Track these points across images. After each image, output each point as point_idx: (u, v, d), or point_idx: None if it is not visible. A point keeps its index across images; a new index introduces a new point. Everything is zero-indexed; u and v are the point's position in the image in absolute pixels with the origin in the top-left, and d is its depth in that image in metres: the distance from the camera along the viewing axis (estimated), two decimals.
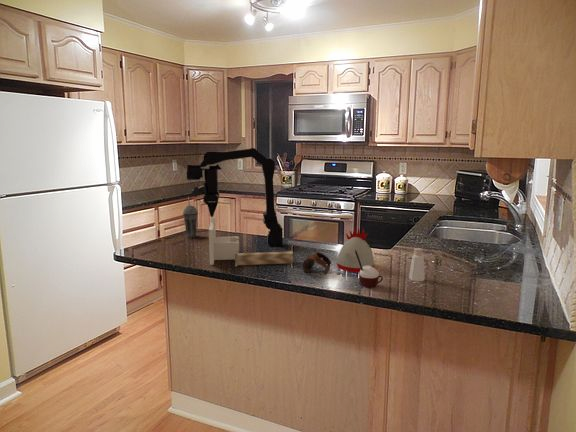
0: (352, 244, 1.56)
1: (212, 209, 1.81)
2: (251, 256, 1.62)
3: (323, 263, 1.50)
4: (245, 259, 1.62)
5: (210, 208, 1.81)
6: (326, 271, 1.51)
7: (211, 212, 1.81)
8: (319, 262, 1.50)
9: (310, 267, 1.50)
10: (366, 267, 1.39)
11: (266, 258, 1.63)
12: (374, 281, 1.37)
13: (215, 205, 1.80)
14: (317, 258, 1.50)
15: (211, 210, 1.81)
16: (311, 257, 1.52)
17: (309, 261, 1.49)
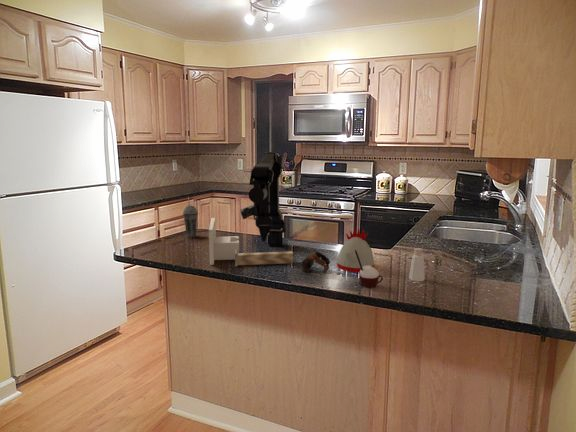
0: (353, 244, 1.56)
1: (264, 233, 1.57)
2: (251, 256, 1.62)
3: (322, 262, 1.51)
4: (245, 259, 1.62)
5: (262, 232, 1.57)
6: (325, 270, 1.52)
7: (263, 236, 1.58)
8: (318, 262, 1.51)
9: (309, 267, 1.51)
10: (366, 267, 1.39)
11: (266, 258, 1.63)
12: (374, 281, 1.37)
13: (268, 228, 1.56)
14: (316, 258, 1.51)
15: (263, 234, 1.57)
16: (310, 257, 1.53)
17: (308, 261, 1.50)
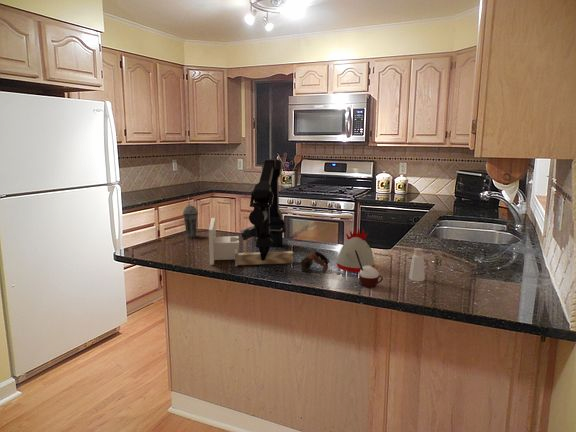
0: (353, 244, 1.56)
1: (264, 252, 1.61)
2: (251, 256, 1.62)
3: (321, 262, 1.51)
4: (245, 259, 1.62)
5: (261, 252, 1.61)
6: (324, 270, 1.52)
7: (263, 256, 1.62)
8: (317, 261, 1.51)
9: (308, 266, 1.52)
10: (366, 267, 1.39)
11: (266, 258, 1.63)
12: (374, 281, 1.37)
13: (267, 248, 1.61)
14: (315, 257, 1.52)
15: (263, 253, 1.62)
16: (309, 256, 1.53)
17: (307, 260, 1.50)
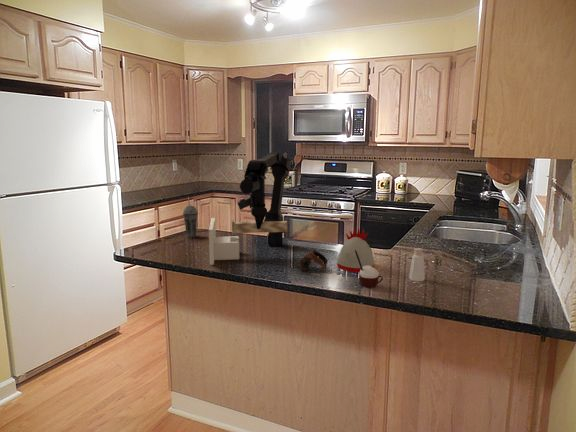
0: (352, 244, 1.56)
1: (259, 221, 1.71)
2: (247, 224, 1.72)
3: (320, 261, 1.52)
4: (241, 228, 1.72)
5: (257, 220, 1.71)
6: (323, 269, 1.53)
7: (258, 224, 1.72)
8: (316, 260, 1.52)
9: (307, 265, 1.52)
10: (366, 267, 1.39)
11: (261, 226, 1.73)
12: (374, 281, 1.37)
13: (263, 217, 1.70)
14: (314, 257, 1.52)
15: (258, 222, 1.71)
16: (308, 256, 1.54)
17: (306, 260, 1.51)
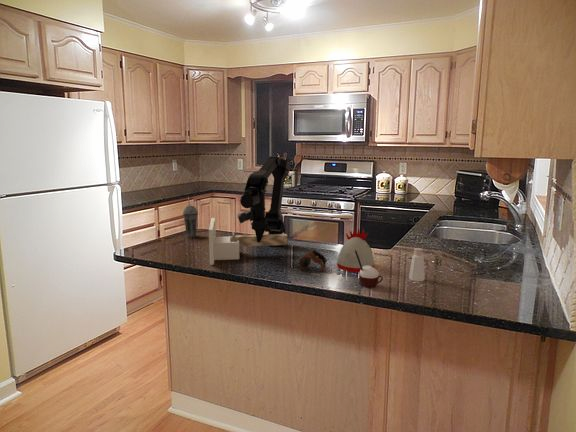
0: (352, 244, 1.56)
1: (259, 235, 1.72)
2: (247, 238, 1.73)
3: (319, 261, 1.53)
4: (242, 241, 1.73)
5: (257, 234, 1.72)
6: (322, 269, 1.54)
7: (258, 238, 1.73)
8: (315, 260, 1.52)
9: (306, 265, 1.53)
10: (366, 267, 1.39)
11: (261, 240, 1.74)
12: (374, 281, 1.37)
13: (263, 230, 1.72)
14: (313, 256, 1.53)
15: (258, 235, 1.72)
16: (307, 255, 1.54)
17: (305, 259, 1.51)
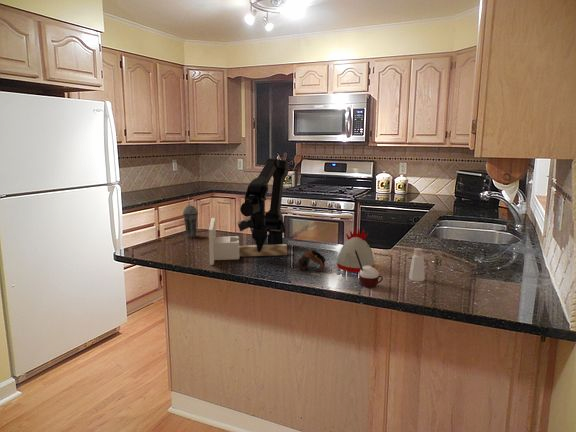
0: (353, 244, 1.56)
1: (260, 244, 1.70)
2: (247, 248, 1.74)
3: (318, 261, 1.53)
4: (242, 251, 1.74)
5: (258, 243, 1.70)
6: (321, 268, 1.54)
7: (259, 247, 1.71)
8: (314, 260, 1.53)
9: (305, 265, 1.53)
10: (366, 267, 1.39)
11: (261, 250, 1.75)
12: (374, 281, 1.37)
13: (263, 240, 1.70)
14: (312, 256, 1.53)
15: (259, 245, 1.70)
16: (306, 255, 1.55)
17: (304, 259, 1.52)
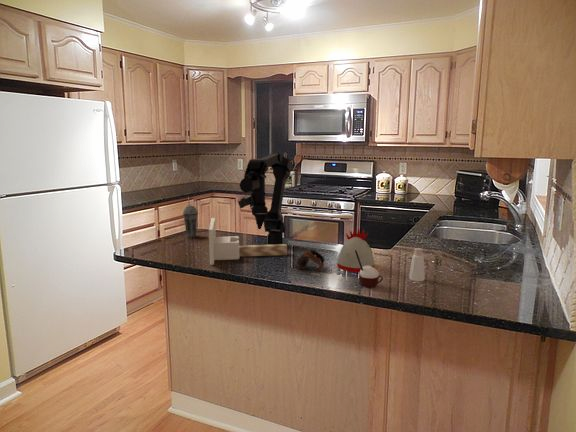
0: (353, 244, 1.56)
1: (260, 221, 1.70)
2: (247, 248, 1.74)
3: (317, 260, 1.54)
4: (242, 251, 1.74)
5: (258, 220, 1.69)
6: (320, 268, 1.55)
7: (259, 224, 1.70)
8: (313, 259, 1.53)
9: (305, 264, 1.54)
10: (366, 267, 1.39)
11: (262, 250, 1.75)
12: (374, 281, 1.37)
13: (263, 217, 1.69)
14: (311, 255, 1.54)
15: (259, 222, 1.70)
16: (305, 254, 1.55)
17: (304, 258, 1.52)
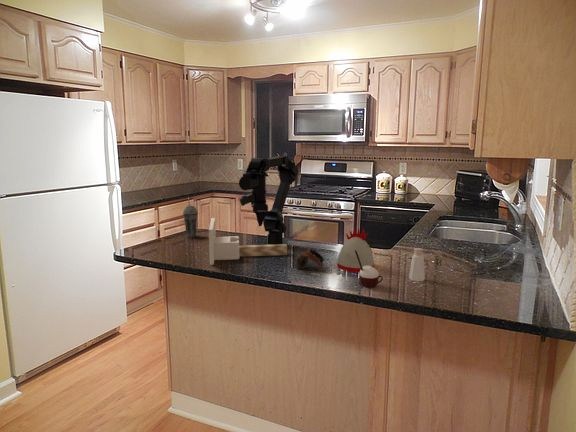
0: (353, 244, 1.56)
1: (261, 218, 1.74)
2: (248, 248, 1.74)
3: (316, 260, 1.54)
4: (242, 251, 1.74)
5: (259, 218, 1.74)
6: (319, 267, 1.55)
7: (260, 221, 1.75)
8: (312, 259, 1.54)
9: (304, 264, 1.54)
10: (366, 267, 1.39)
11: (262, 250, 1.75)
12: (374, 281, 1.37)
13: (264, 214, 1.74)
14: (310, 255, 1.54)
15: (260, 219, 1.74)
16: (304, 254, 1.56)
17: (303, 258, 1.53)
